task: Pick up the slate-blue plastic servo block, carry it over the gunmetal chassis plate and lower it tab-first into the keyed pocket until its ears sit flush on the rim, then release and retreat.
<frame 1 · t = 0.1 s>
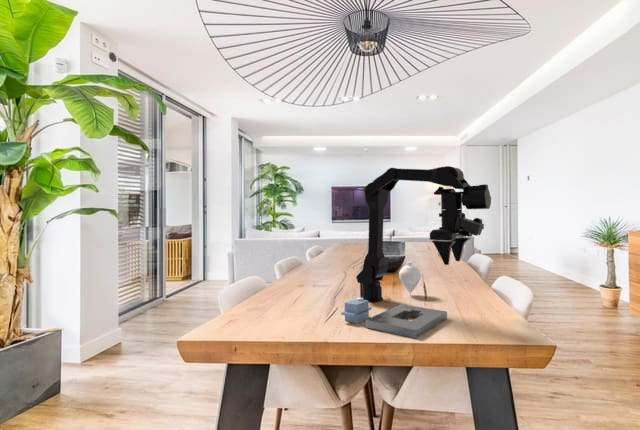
hand: (452, 262, 108), 15 cm above the table, fingers open, 9 cm apart
servo: (356, 319, 103), on the table
spinning top: (410, 295, 132), on the table
chassis plate: (407, 323, 99), on the table
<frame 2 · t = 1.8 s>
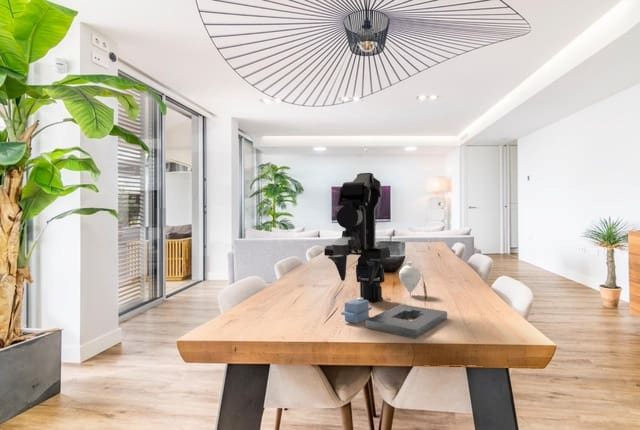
hand: (356, 282, 103), 10 cm above the table, fingers open, 9 cm apart
nothing on the table moved.
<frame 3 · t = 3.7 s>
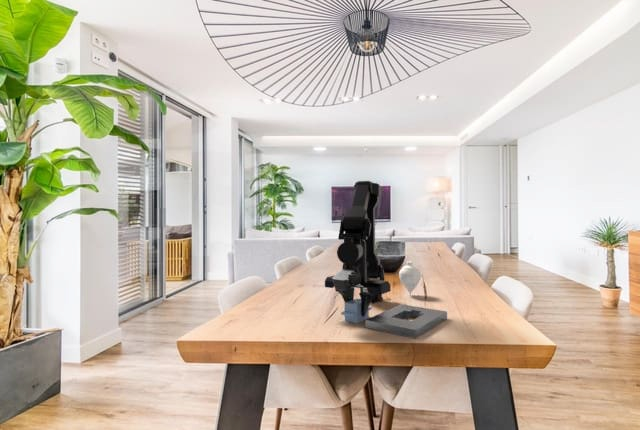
hand: (356, 314, 103), 1 cm above the table, fingers closed on servo, 4 cm apart
servo: (356, 319, 103), on the table, touching gripper
everything else where it was.
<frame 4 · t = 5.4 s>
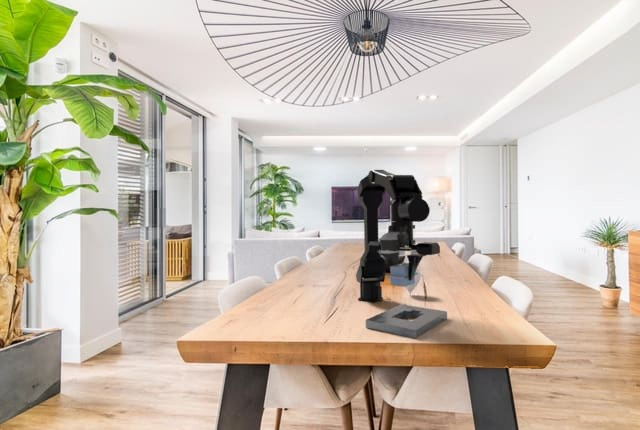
hand: (403, 279, 99), 12 cm above the table, fingers closed on servo, 4 cm apart
servo: (402, 284, 99), point 10 cm above the table, touching gripper
everything else where it was.
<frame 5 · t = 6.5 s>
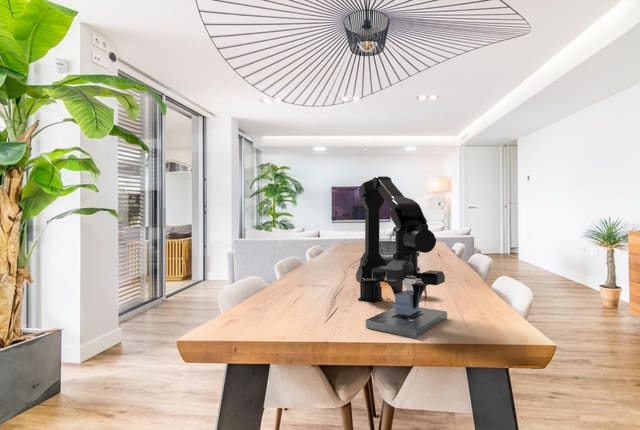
hand: (407, 307, 99), 4 cm above the table, fingers closed on servo, 4 cm apart
servo: (407, 311, 99), point 3 cm above the table, touching gripper
everything else where it was.
when the fingers open (3 cm above the table, at t = 7.4 s): servo drops 2 cm, resting in chassis plate.
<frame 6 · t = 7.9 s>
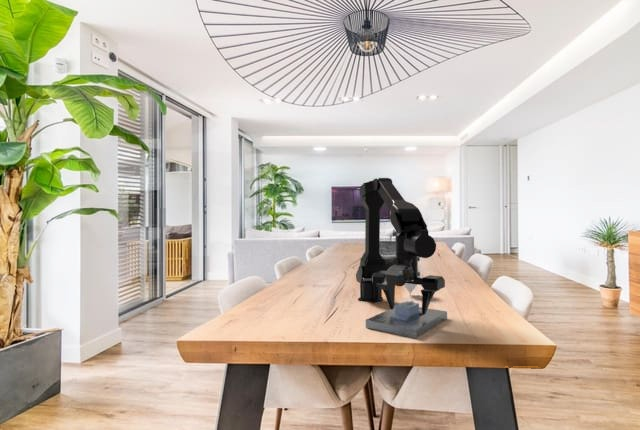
hand: (407, 311, 99), 3 cm above the table, fingers open, 9 cm apart
servo: (407, 323, 99), resting in chassis plate
everything else where it was.
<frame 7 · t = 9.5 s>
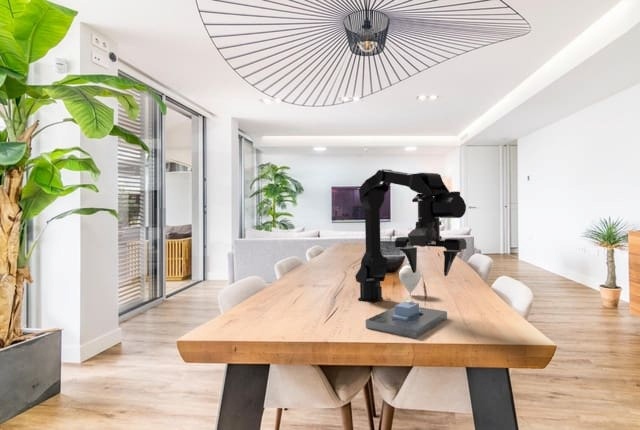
hand: (429, 274, 102), 12 cm above the table, fingers open, 9 cm apart
nothing on the table moved.
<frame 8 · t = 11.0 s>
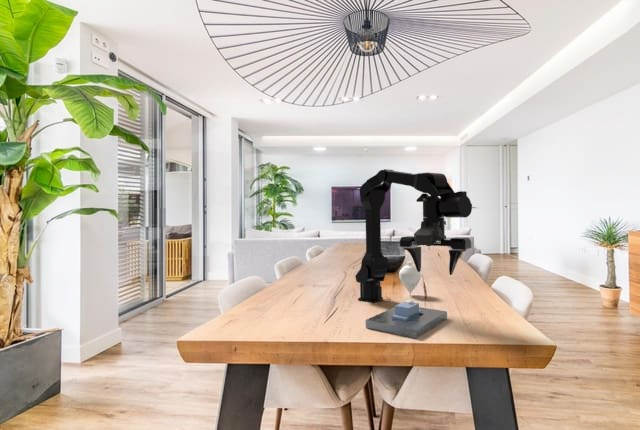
hand: (434, 273, 103), 12 cm above the table, fingers open, 9 cm apart
nothing on the table moved.
at the end: servo 0.1 cm from the target spot, resting in chassis plate; servo tilted 0°; the gripper is holding nothing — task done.
